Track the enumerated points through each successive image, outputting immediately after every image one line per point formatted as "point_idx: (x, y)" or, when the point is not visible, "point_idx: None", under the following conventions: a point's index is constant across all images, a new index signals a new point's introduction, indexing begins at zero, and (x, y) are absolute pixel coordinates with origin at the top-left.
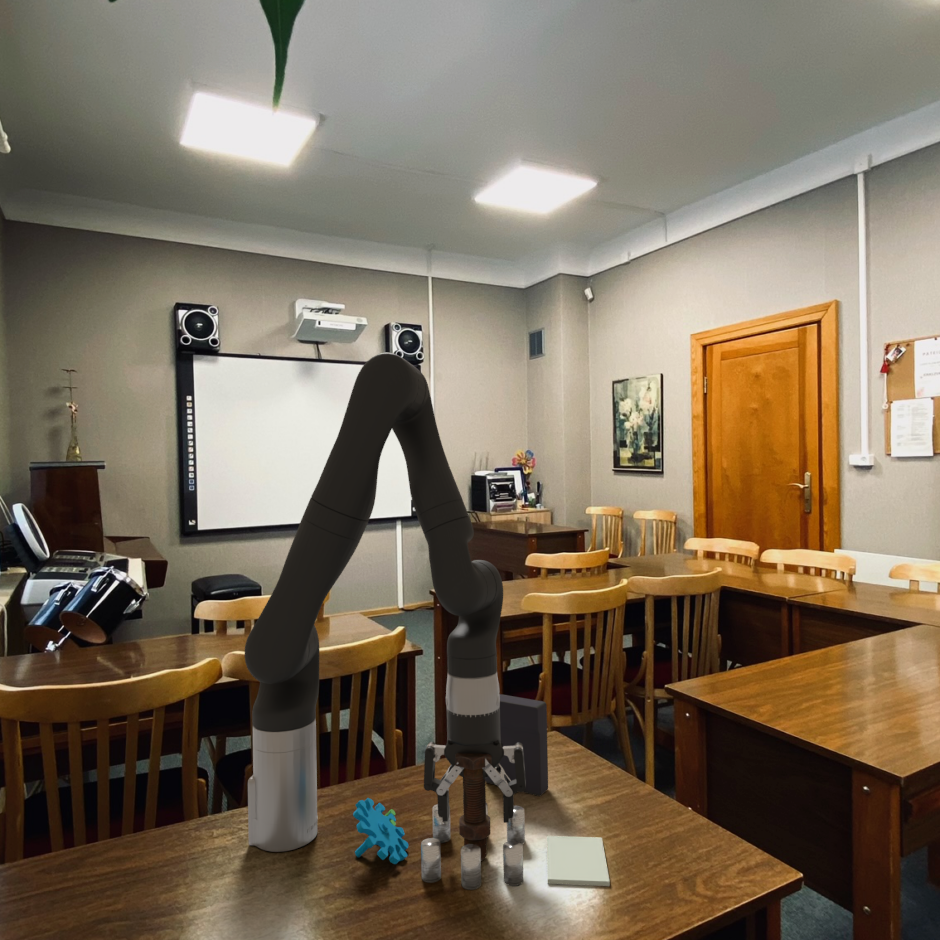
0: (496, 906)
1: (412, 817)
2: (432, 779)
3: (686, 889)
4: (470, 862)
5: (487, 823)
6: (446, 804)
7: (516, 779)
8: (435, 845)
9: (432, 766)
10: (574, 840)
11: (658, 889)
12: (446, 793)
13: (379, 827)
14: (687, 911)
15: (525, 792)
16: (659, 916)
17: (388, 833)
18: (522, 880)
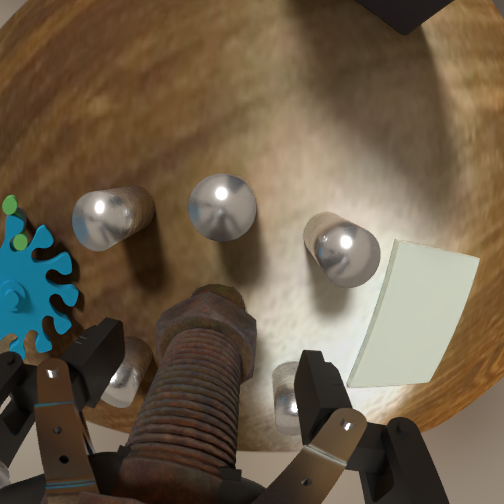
0: (251, 422)
1: (73, 109)
2: (28, 428)
3: (486, 368)
4: None
5: (243, 381)
6: (103, 389)
7: (364, 494)
8: (123, 402)
9: (10, 463)
10: (441, 266)
11: (466, 373)
12: (85, 391)
13: (7, 308)
14: (462, 401)
15: (369, 9)
16: (436, 414)
17: (25, 293)
18: None
